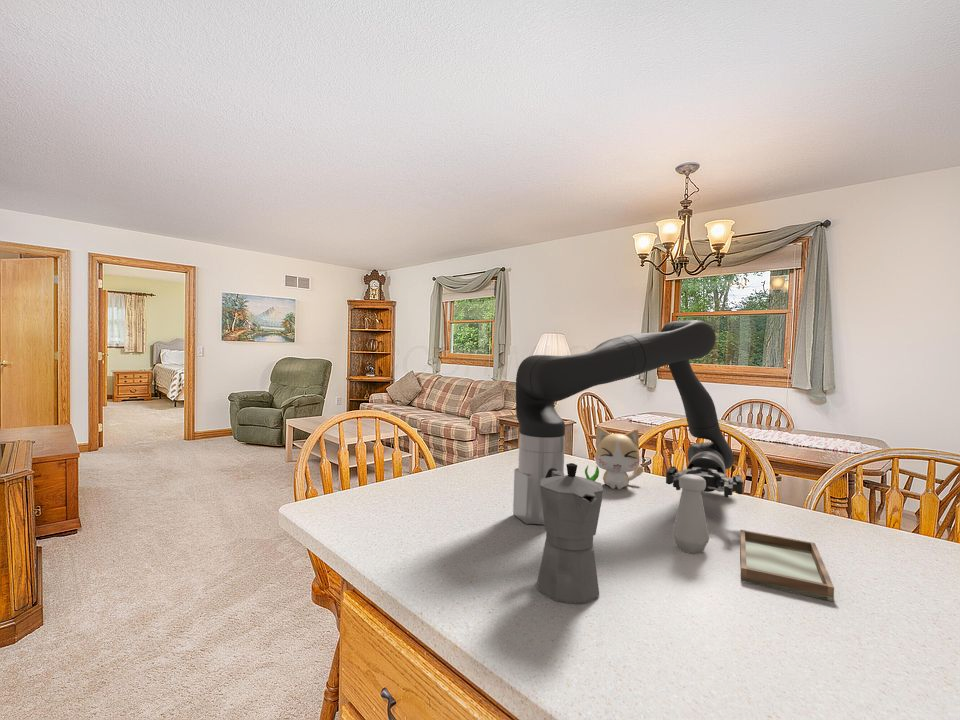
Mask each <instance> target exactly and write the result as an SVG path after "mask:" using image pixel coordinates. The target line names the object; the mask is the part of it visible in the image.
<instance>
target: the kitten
mask: <svg viewBox="0 0 960 720" xmlns="http://www.w3.org/2000/svg"><path fill="white" fill-rule="evenodd" d="M639 433H640V432H639V430H638V429H637V428H635V429H633V430H631V431H629V432H627V433H624V434H622V433H610V432H608V431H607V430H605V429H604V428H603V427H601V426H597V427H596V432H595V456H594V459H595V464H596V468H595V471H594V473H593V475H592V476H591V477H590V475H589V473H588V469H589V465H587V466H586V468H585V470H584V474H585V478H586V479H589V480H592V481H596V480H597V479H598V478H599V475H600V469H602V470H605V472H604V473H603V476H602V480H603V483H604V484H605V486H606V485H607V486H609V487H610V488H611V489H612V490H614V489H616V488H617V489H618V490H619V491H620V490H622V489H623V488H625V487H627V486H628V485H629V483H630V481H633V480H635V479H636V478H637V477H638V476H640V475H641V474H643V473H644V467H643V466H642V465H641V464H640V452H639V447H640V443H639V437H640V436H639ZM599 468H600V469H599ZM630 472H631V473H630ZM628 473H630V474H628Z"/></svg>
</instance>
